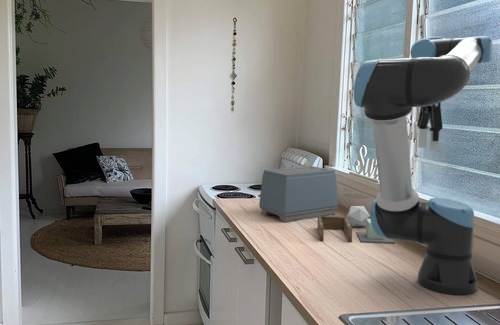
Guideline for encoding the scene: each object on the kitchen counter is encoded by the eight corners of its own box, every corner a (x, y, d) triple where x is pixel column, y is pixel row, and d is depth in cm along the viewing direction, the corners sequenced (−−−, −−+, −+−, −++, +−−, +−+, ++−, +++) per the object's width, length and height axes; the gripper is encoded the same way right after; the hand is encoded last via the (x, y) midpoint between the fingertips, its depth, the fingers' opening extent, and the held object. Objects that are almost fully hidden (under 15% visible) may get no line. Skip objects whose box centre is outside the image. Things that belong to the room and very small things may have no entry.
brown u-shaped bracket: (351, 242, 169) (352, 228, 168) (320, 241, 170) (320, 227, 169) (346, 229, 187) (346, 216, 186) (317, 228, 188) (317, 216, 187)
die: (364, 231, 186) (376, 210, 188) (344, 219, 187) (356, 198, 189) (359, 233, 194) (370, 213, 196) (340, 222, 195) (351, 202, 198)
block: (384, 239, 171) (385, 223, 170) (368, 238, 172) (368, 222, 171) (381, 234, 177) (382, 219, 176) (365, 234, 177) (366, 218, 177)
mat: (394, 243, 168) (395, 241, 168) (361, 242, 169) (361, 240, 169) (388, 234, 180) (388, 232, 179) (356, 233, 181) (356, 231, 181)
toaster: (344, 213, 214) (345, 169, 212) (284, 223, 195) (285, 175, 193) (316, 206, 230) (317, 165, 228) (258, 214, 211) (259, 169, 209)
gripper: (456, 83, 142) (451, 153, 144) (431, 87, 166) (428, 146, 169) (430, 83, 142) (426, 152, 145) (410, 86, 167) (407, 145, 169)
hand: (427, 149), depth 157 cm, fingers open, 13 cm apart
